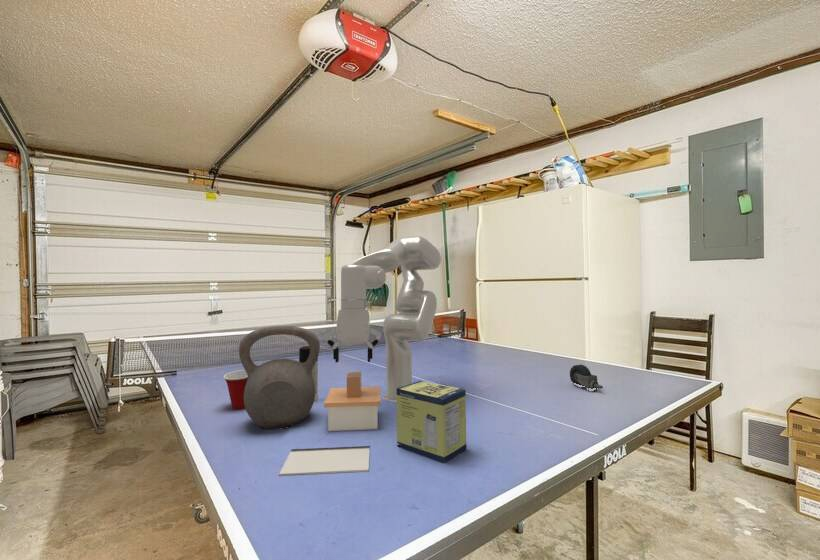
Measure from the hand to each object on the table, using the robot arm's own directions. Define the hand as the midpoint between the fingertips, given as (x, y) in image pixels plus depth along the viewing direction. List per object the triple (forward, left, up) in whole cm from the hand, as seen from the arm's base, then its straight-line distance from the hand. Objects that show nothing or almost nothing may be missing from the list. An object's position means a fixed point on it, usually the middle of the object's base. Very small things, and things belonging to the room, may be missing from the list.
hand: (353, 361), depth 118 cm
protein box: (-21, +19, -20) cm, 34 cm away
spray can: (+18, -24, -20) cm, 36 cm away
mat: (+5, +20, -19) cm, 28 cm away
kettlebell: (+23, -4, -20) cm, 30 cm away
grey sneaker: (-90, -29, -20) cm, 97 cm away
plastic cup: (+41, -21, -20) cm, 50 cm away
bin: (0, 0, -19) cm, 19 cm away
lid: (0, 0, -11) cm, 11 cm away
